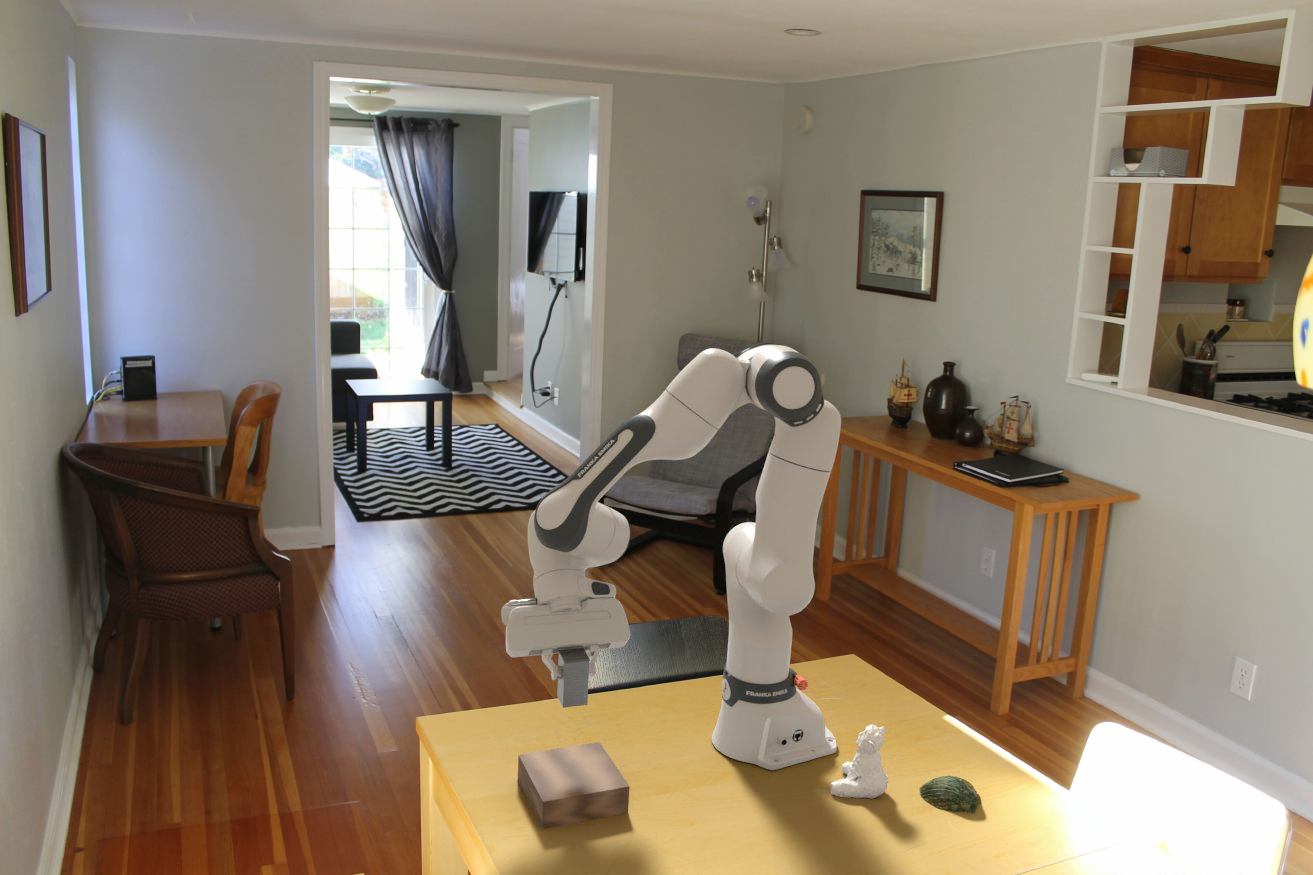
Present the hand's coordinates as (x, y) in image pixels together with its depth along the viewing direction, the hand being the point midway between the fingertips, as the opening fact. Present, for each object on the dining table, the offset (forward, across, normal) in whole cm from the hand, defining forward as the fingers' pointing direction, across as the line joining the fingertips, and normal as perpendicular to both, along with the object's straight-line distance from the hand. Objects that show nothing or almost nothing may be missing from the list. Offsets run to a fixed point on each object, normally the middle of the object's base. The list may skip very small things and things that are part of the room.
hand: (574, 676), depth 160 cm
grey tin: (+3, 0, +4) cm, 4 cm away
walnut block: (+16, 0, +12) cm, 20 cm away
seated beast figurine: (+22, +47, +6) cm, 52 cm away
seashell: (+27, +61, +2) cm, 66 cm away
